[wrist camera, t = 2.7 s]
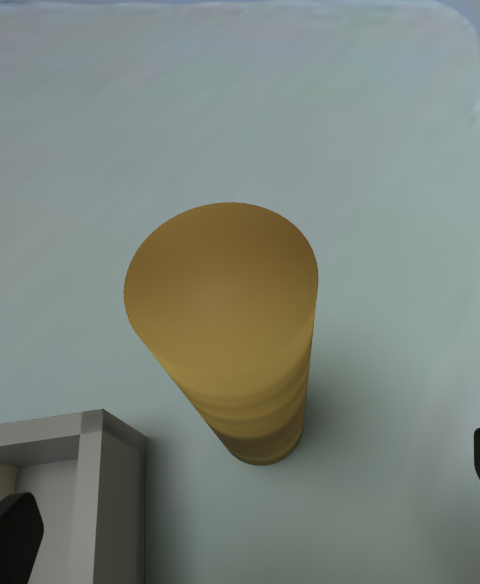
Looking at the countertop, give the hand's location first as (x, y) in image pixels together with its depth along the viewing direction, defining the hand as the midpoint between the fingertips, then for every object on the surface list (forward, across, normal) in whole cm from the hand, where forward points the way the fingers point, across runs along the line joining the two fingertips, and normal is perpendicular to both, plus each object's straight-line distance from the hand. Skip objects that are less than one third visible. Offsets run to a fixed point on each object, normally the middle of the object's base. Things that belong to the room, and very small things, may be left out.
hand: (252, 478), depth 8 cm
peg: (+10, 0, +5) cm, 11 cm away
